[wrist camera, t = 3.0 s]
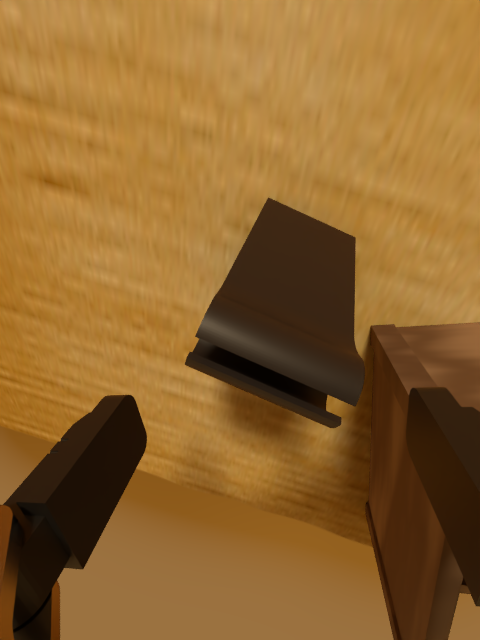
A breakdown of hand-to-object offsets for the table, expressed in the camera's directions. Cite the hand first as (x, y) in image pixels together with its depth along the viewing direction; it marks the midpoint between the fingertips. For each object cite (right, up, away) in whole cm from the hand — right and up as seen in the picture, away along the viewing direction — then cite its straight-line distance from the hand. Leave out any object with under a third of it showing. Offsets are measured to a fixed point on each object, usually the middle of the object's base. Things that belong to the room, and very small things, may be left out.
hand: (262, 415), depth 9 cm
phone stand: (+2, +6, +12) cm, 14 cm away
